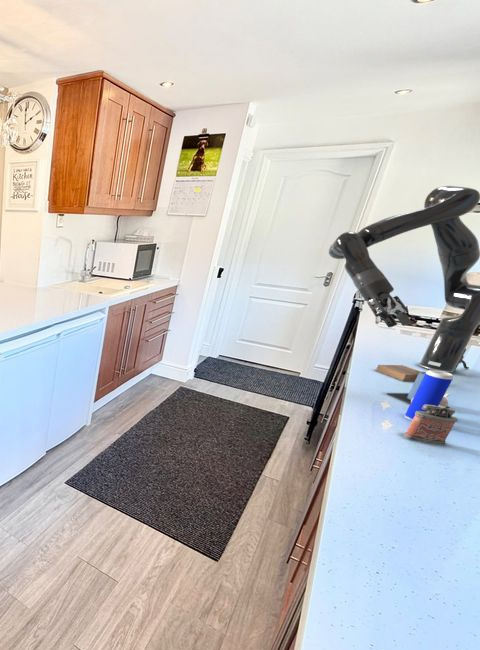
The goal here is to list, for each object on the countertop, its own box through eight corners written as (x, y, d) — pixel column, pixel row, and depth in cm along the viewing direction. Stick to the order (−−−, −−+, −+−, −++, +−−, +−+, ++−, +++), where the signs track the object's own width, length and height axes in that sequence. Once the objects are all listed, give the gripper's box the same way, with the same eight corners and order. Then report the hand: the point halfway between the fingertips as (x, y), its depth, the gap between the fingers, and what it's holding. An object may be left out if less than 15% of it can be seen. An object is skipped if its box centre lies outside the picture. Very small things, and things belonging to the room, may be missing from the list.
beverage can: (417, 416, 119) (441, 369, 114) (434, 424, 115) (460, 376, 109) (399, 414, 120) (422, 368, 114) (415, 423, 115) (439, 375, 110)
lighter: (438, 439, 107) (456, 406, 103) (447, 446, 104) (467, 412, 100) (400, 433, 109) (417, 400, 105) (408, 439, 106) (425, 406, 102)
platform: (399, 371, 156) (402, 365, 155) (428, 381, 147) (431, 375, 146) (375, 370, 155) (378, 364, 154) (402, 381, 146) (405, 374, 145)
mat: (414, 394, 135) (414, 393, 135) (449, 408, 126) (449, 407, 125) (386, 394, 134) (387, 393, 134) (419, 408, 125) (420, 406, 125)
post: (415, 396, 132) (428, 371, 129) (431, 403, 128) (445, 377, 124) (402, 396, 132) (415, 371, 128) (418, 403, 127) (431, 377, 124)
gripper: (372, 278, 131) (402, 321, 126) (396, 277, 136) (426, 318, 131) (347, 291, 138) (374, 332, 132) (371, 289, 143) (398, 329, 137)
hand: (400, 325), depth 132 cm, fingers open, 8 cm apart
